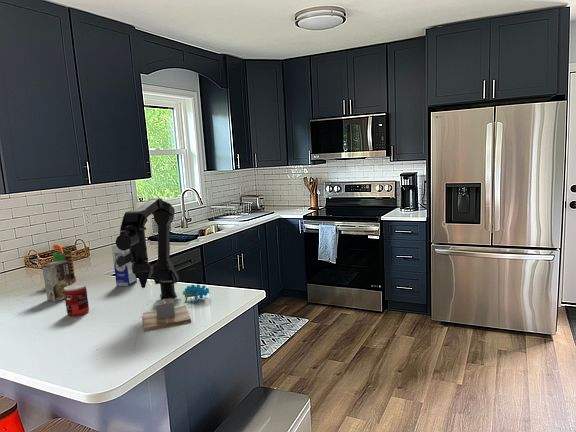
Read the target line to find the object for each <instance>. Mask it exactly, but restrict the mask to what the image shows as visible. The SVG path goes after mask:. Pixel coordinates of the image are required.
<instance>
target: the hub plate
mask: <svg viewBox="0 0 576 432" xmlns="http://www.w3.org/2000/svg"><path fill="white" fill-rule="evenodd" d="M174 312H175V317H170V318H165V319H160V320H158V318H157V312H156V310H151V311H146V312H142V320H143V331H144V332H146V331H147V332H148V331H152V330H157V329H163V328H166V327H168V328H169V327H174V326H178V325H184V324H188V323H189V324H190V323H192V318H191V316H190V313H189V310H188V309H187V306H186V305H180V306H179V305H178V306H174Z"/></svg>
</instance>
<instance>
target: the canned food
mask: <svg viewBox="0 0 576 432" xmlns="http://www.w3.org/2000/svg"><path fill="white" fill-rule="evenodd" d="M64 296H65V298H64V300H65V303H64V304H65V307H66V309H65V310H66V314H67V316H69V317H79V316H83V315H86V314H87V313H89V311H90V306H89V298H88V291H87V286H86V283H75V284H74V283H73V284H72V285H70V286H67V287H65V288H64Z"/></svg>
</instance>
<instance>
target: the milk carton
mask: <svg viewBox="0 0 576 432" xmlns="http://www.w3.org/2000/svg"><path fill="white" fill-rule="evenodd" d="M129 251H130V249H128V250H125V251H123V250H120V249H119V248H118V247H117V246H116V245H111V252H112V259H113V260H112V261H113V269H114V276H115V284H116V287H130V286H132V285H134V284H137V282H138V280H137V279H138V277H137V275H135V274H133V273H132V263H131V261H130V262H129V263H127V264H125V265H123V266H122V267H119V266H118V265H117V263H116V261H115V258H116V257H118V256H120V255H122V254H124V253H126V252H129Z"/></svg>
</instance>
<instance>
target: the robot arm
mask: <svg viewBox="0 0 576 432" xmlns="http://www.w3.org/2000/svg"><path fill="white" fill-rule="evenodd" d="M175 213H176V210H175V208H174V206H173V205H172V204H171V203H169V202H167V201H165V200H163V199H162V198H161V197H154V198H153V197H152V198H148V200H147V201H146V202H144V203H143V204H141V205H140V206H139V207H138V208H136V209H131V210H127V211H125V213H123V217H122V220H121V225H120V229H119V235H118V236H117V237H116V238H115V246H117V247H118V248H119V249H120V250H123V251H125V250H128V249H130V251H129V252H126V253H124V254H122V255H120V256H118V257H116V258H115V261H116V263H117V265H118V266H119V267H122V266H123V265H125V264H127V263H129V262H130V261H131V263H132V273H133V274H135V275H136V277H137V279H138V281H139V283H140V287H141V289H144V288H146V285H147V282H148V278H149V276H150V273H151V264H150V262H149V256H148V249H147V248H148V247H147V240H146V233H145V231H146V230H147V227H146V226H145V225H146V224H147V222H148V221H149V220H148V217H149V216H151V215H152V216H153V220H154V222H155V223H156V225H157V261H156V262H155V263H154V264H153V266H152V269H153V271H152V277H153V281H154V284H155V285H160V294H159V295H160V296H159V297H160V300H164V299H170V298H172V299H173V298H177V297H178V295H177V292H176V289H175V284H177V283H179V274H178V273H177V272H176V271H175V266H174V264H173V263H172V261H171V258H170V257H171V240H170V239H171V235H170V234H171V233H170V231H171V230H170V229H171V224H172V223H173V221H174V218H175V217H174V216H175Z"/></svg>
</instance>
